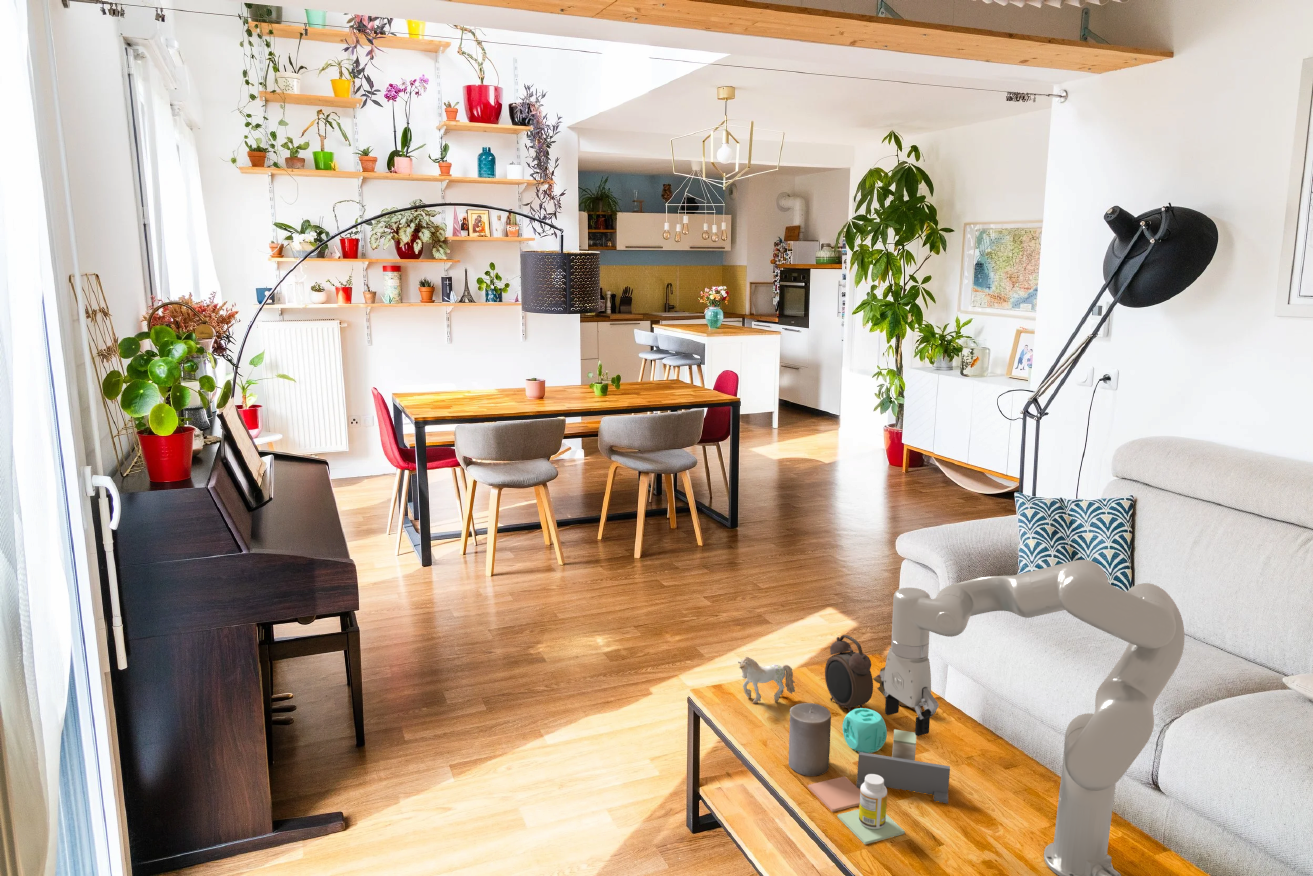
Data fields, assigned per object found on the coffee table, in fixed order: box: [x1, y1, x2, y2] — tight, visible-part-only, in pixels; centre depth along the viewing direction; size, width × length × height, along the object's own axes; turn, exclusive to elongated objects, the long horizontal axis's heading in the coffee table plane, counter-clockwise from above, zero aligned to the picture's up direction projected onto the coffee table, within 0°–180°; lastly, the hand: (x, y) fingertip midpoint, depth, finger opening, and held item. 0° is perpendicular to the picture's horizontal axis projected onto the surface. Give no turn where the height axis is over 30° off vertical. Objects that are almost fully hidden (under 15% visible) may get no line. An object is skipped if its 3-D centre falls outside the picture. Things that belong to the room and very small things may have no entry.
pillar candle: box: [788, 702, 832, 777], centre depth 210 cm, size 10×10×15 cm
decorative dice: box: [842, 707, 888, 754], centre depth 220 cm, size 8×8×8 cm
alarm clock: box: [824, 634, 874, 713], centre depth 238 cm, size 15×7×20 cm, turn 25°
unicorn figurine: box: [737, 656, 796, 705], centre depth 241 cm, size 7×20×13 cm, turn 118°
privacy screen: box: [855, 752, 951, 804], centre depth 202 cm, size 20×6×7 cm, turn 74°
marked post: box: [891, 728, 917, 761], centre depth 207 cm, size 5×5×10 cm
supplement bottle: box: [858, 774, 888, 829], centre depth 188 cm, size 6×6×10 cm
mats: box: [807, 775, 906, 845], centre depth 194 cm, size 22×10×1 cm, turn 22°
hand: (906, 723), depth 187 cm, fingers open, 9 cm apart
